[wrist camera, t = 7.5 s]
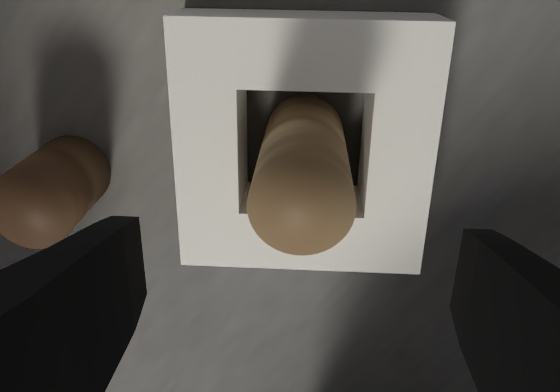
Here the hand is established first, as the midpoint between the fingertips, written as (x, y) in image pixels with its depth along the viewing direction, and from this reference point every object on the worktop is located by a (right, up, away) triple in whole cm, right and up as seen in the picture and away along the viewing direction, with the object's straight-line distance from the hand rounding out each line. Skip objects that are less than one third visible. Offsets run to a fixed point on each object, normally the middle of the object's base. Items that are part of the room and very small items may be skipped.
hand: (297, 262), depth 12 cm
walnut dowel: (-9, +3, +10) cm, 14 cm away
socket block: (+1, +4, +9) cm, 10 cm away
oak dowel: (+1, +4, +9) cm, 10 cm away
